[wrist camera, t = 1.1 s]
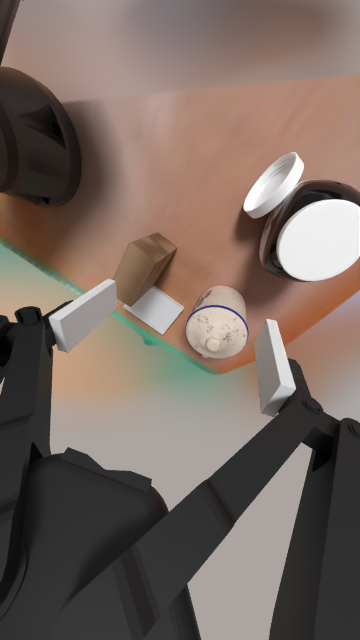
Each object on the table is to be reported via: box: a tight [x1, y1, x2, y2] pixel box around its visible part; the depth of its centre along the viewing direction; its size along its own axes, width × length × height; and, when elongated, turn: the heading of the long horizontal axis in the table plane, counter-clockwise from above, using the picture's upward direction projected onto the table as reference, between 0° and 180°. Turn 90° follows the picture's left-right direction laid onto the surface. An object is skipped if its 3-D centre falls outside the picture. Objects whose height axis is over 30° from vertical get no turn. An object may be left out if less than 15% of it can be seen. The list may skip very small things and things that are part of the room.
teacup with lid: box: [186, 286, 248, 358], centre depth 32 cm, size 12×9×12 cm
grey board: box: [124, 286, 184, 335], centre depth 39 cm, size 10×8×1 cm
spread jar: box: [243, 152, 360, 282], centre depth 22 cm, size 12×11×12 cm
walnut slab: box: [113, 233, 178, 307], centre depth 30 cm, size 4×8×10 cm, turn 147°
